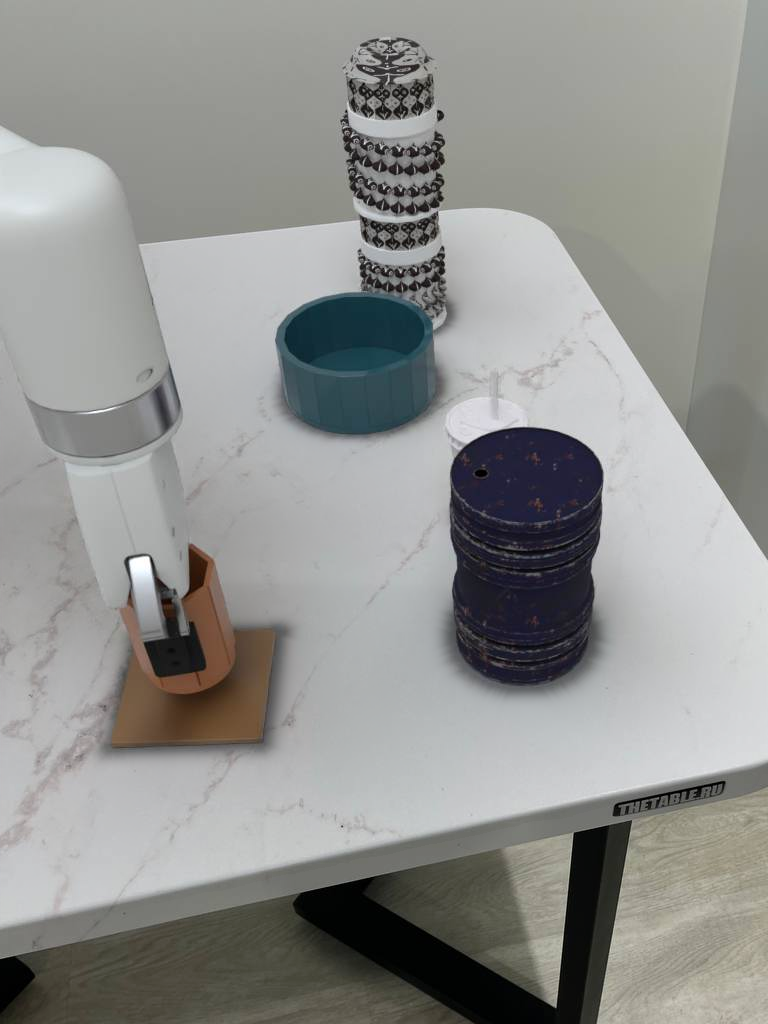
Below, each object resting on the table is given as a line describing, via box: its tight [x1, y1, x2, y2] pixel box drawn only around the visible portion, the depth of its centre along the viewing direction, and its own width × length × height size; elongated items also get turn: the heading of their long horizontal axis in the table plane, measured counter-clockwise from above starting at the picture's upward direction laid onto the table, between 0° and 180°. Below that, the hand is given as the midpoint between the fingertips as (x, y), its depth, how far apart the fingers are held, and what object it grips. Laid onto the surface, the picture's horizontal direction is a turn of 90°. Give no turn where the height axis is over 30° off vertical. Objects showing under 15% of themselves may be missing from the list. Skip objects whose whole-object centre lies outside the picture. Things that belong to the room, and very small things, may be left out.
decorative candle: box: [340, 36, 448, 332], centre depth 98 cm, size 9×9×25 cm
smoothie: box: [443, 367, 530, 460], centre depth 80 cm, size 6×6×14 cm
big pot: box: [274, 291, 437, 435], centre depth 96 cm, size 14×14×6 cm
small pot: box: [118, 542, 236, 694], centre depth 68 cm, size 6×6×8 cm
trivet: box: [109, 628, 277, 749], centre depth 73 cm, size 10×10×1 cm
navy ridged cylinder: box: [448, 426, 605, 686], centre depth 71 cm, size 10×10×15 cm
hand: (180, 629), depth 69 cm, fingers closed on small pot, 6 cm apart
